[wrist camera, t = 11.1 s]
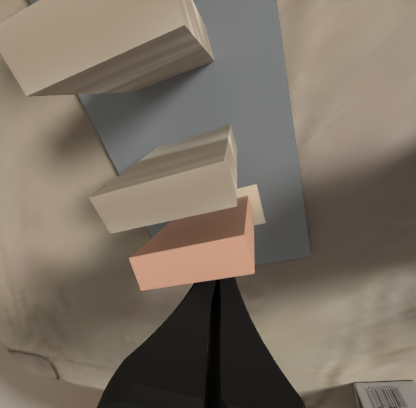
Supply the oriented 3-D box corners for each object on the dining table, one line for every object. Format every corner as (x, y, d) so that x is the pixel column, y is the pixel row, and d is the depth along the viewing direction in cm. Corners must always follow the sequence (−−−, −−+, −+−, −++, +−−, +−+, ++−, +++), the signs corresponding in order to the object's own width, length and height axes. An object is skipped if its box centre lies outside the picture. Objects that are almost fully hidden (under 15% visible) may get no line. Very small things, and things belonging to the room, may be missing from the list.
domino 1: (214, 60, 12) (184, 24, 5) (134, 92, 13) (26, 96, 6) (205, 24, 11) (157, -69, 4) (121, 61, 12) (-13, 31, 6)
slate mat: (309, 252, 17) (311, 257, 17) (173, 273, 20) (172, 277, 20) (148, -896, 4) (139, -1006, 4) (-162, -387, 7) (-188, -419, 7)
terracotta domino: (253, 216, 15) (254, 273, 8) (188, 231, 17) (140, 290, 9) (248, 195, 15) (244, 235, 8) (182, 211, 16) (128, 257, 9)
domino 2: (237, 149, 14) (236, 206, 7) (166, 169, 15) (110, 233, 8) (230, 124, 13) (223, 160, 7) (156, 147, 14) (88, 197, 8)
